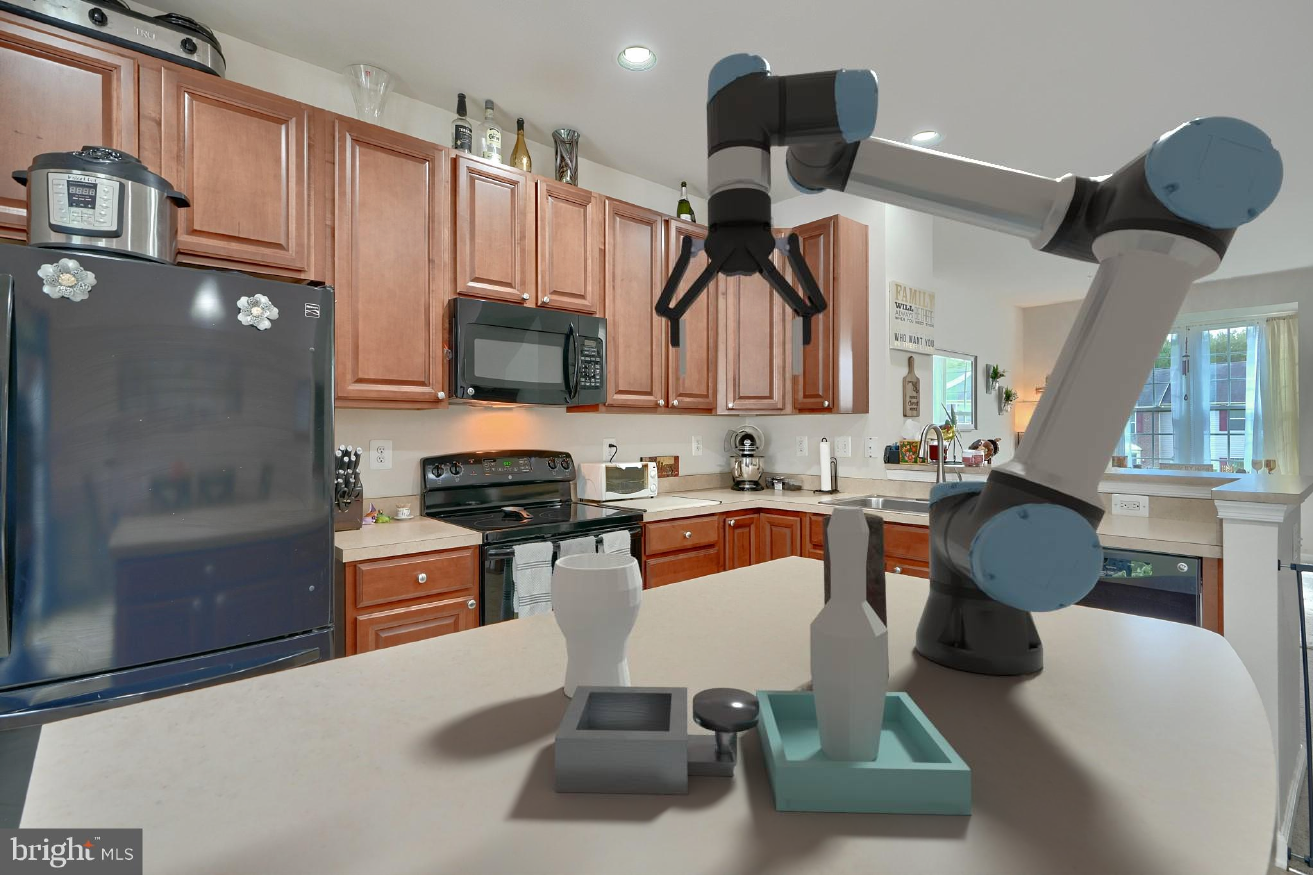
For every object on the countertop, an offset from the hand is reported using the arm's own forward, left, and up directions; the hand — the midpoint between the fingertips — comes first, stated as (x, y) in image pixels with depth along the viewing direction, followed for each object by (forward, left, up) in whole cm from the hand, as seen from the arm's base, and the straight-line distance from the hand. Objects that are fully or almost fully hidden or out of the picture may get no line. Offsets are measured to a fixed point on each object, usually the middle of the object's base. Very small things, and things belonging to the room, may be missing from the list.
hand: (740, 374), depth 77 cm
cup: (+17, +3, -37) cm, 41 cm away
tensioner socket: (+9, +19, -37) cm, 42 cm away
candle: (-14, -2, -37) cm, 40 cm away
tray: (-8, +19, -37) cm, 42 cm away
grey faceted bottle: (-8, +19, -36) cm, 41 cm away
